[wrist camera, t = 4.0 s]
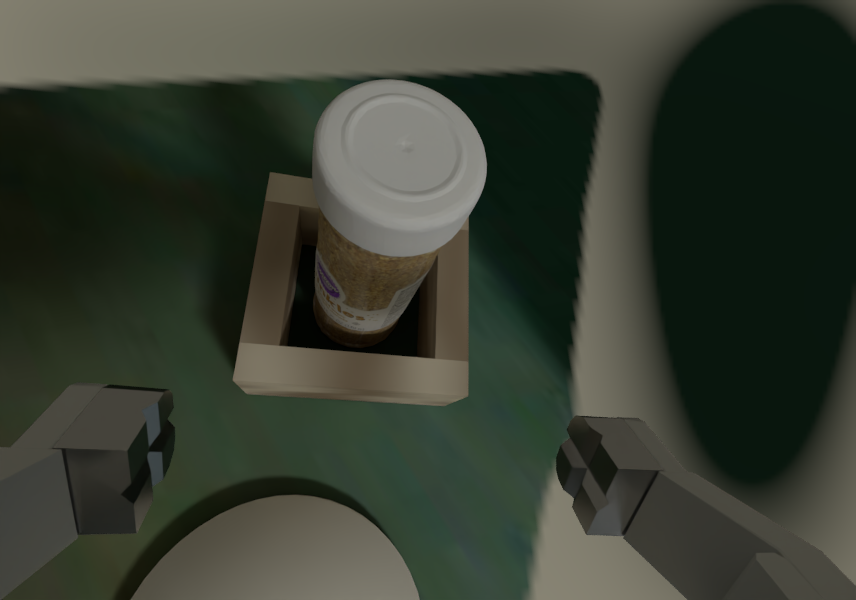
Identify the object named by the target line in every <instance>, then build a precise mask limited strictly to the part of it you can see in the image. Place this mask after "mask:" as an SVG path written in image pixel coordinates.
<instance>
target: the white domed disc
mask: <svg viewBox="0 0 856 600" xmlns="http://www.w3.org/2000/svg"><path fill="white" fill-rule="evenodd" d="M131 600H420V599H419V595H418V592H417V589H416V586H415V584H414V581H413V579H412V576H411V573H410V571H409V570H408V568H407V566H406V564H405V562H404V560H403V558H402V557H401V555H400V554H399V552H398V551H397V550H396V548H395V547H394V545H393V544H392V543H391V541H390V540H389V539H388V538H387V537H386V536H385V535H384V534H383V533H382V532H381V531H380V530H379V529H378V527H377V526H376V525H374V524H373V523H372V522H371V521H369V520H368V519H367V518H366V517H364V516H363V515H362V514H360V513H358V512H356V511H355V510H353V509H351V508H349V507H348V506H346V505H343V504H341V503H338V502H335V501H333V500H330V499H326V498H321V497H317V496H311V495H300V494H289V495H275V496H270V497H265V498H259V499H256V500H253V501H250V502H247V503H243V504H240V505H238V506H236V507H234V508H231V509H229V510H227V511H225V512H223V513H221V514H219V515H217V516H216V517H214V518H212V519H211V520H209V521H207V522H206V523H204V524H202V525H201V526H199V527H198V528H196V529H195V530H194V531H192V532H191V533H190V534H189V535H187V536H186V537H185V538H183V539H182V540H181V541H179V542H178V543H177V544H176V545H175V546H174V547H173V548H172V549H171V550H170V551H169V552H168V553H167V554H166V555H165V556H164V557H163V558H162V559H161V560H160V561H159V562H158V563H157V565H156V566H155V567H154V568H153V569H152V571H151V572H150V573H149V574H148V575H147V576H146V578H145V579H144V580H143V582H142V583H141V585H140V586H139V588H138V589H137V591H136V592H135V594H134V595H133V597H132V598H131Z"/></svg>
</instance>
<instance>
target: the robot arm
mask: <svg viewBox="0 0 856 600" xmlns="http://www.w3.org/2000/svg"><path fill="white" fill-rule="evenodd" d="M173 408H174V405H173V394H172V392H171V391H170V390H169V389H158V388H146V387H134V386H122V385H106V384H93V383H80V382H78V383H75V384H72V385H70V386H68V387H67V388H66V389H65V390H64V391H63V393H62V394H61V395H60V396H59V397H58V398H57V399H56V400H55V401H54V402H53V403H52V404H51V405H50V406H49V407H48V408H47V409H46V410H45V411H44V412H43V413H42V414H41V416H40V417H39V418H38V419H37V420H36V421H35V422H34V423H33V424H32V425H31V426H30V427H29V428H28V429H27V430H26V431H25V432H24V433H23V434H22V435H21V436H20V438H19V439H18V440H17V441H16V442H15V443H14V444H13V445H12V446H11V447H10V448H8V447H0V600H1V599H2V598H3V597H5V596H6V595H7V594H8V593H10V592H11V591H12V590H13V589H15V588H16V587H17V586H18V585H20V584H21V583H22V582H23V581H25V580H26V579H27V578H28V577H30V576H31V575H32V574H33V573H35V572H36V571H37V570H38V569H40V568H41V567H42V566H43V565H45V564H46V563H47V562H48V561H50V560H51V559H52V558H53V557H55V556H56V555H57V554H58V553H60V552H61V551H62V550H63V549H65V548H66V547H67V546H68V545H70V544H71V543H72V542H73V541H75V540H76V539H77V538H78V535H90V534H133V533H137V532H138V530H139V528H140V526H141V524H142V522H143V520H144V517H145V515H146V513H147V511H148V509H149V507H150V505H151V503H152V501H153V490H152V487H153V486H154V485H155V484H157V483H158V482H160V481H161V480H163V479H164V477H165V474H166V472H167V470H168V468H169V466H170V462H171V459H172V455H173V451H174V444H175V427H174V426H173V424H172V423H171V422H170V421H169V420H168V417H169V416H170V414H171V412H172V410H173ZM567 431H568V434H569V436H570V438H569V439H568V440H567V441H565V442H564V443H563V444H562V445H561V446H560V448H559V451H558V454H557V457H556V471H557V475H558V479H559V481H560V484H561V486H562V488H563V490H565V491H566V492H567V493H569V494H570V495H571V496H572V497H573V498H574V502H573V506H572V507H573V510H574V512H575V514H576V516H577V517H578V519H579V521H580V523H581V525H582V527H583V529H584V531H585V533H586V534H587V535H606V536H607V535H608V536H624V539H625V540H626V541H627V542H628V543H629V544H630V545H631V546H632V547H633V548H634V549H635V550H636V551H637V552H639V554H640V555H642V557H644V558H645V559H646V560H647V561H648V562H649V563H650V564H651V565H652V566H653V567H654V568H655V569H656V570H657V571H658V572H659V573H660V574H661V575H662V576H663V577H665V579H667V580H668V581H669V582H670V583H671V584H672V585H673V586H674V587H675V588H676V589H677V590H678V591H679V592H680V593H681V594H682V595H683V596H684V597H685V598H686V599H687V600H856V586H855V585H854V584H853V583H852V582H851V581H850V580H849V579H848V578H847V577H846V576H845V575H844V574H843V573H842V572H841V571H840V570H839V569H838V567H837V566H836V565H835V564H833V562H832V561H831V560H830V559H829V558H828V557H827V556H826V555H824V553H823V552H822V551H820V550H819V549H817V548H816V547H814V546H812V545H810V544H809V543H807V542H806V541H804V540H803V539H801V538H799V537H798V536H796V535H794V534H793V533H791V532H790V531H788V530H786V529H785V528H783V527H781V526H780V525H778V524H776V523H775V522H773V521H772V520H770V519H768V518H767V517H765V516H763V515H762V514H760V513H758V512H757V511H755V510H754V509H752V508H750V507H749V506H747V505H746V504H744V503H742V502H741V501H739V500H737V499H735V498H734V497H733V496H731V495H729V494H728V493H726V492H724V491H723V490H721V489H719V488H718V487H716V486H715V485H713V484H711V483H710V482H708V481H706V480H705V479H703V478H702V477H700V476H698V475H697V474H695V473H689V472H687V471H686V470H685V469H684V468H683V466H682V465H681V464H680V463H679V462H678V461H677V459H676V458H675V457H674V456H673V455H672V454H671V452H670V451H669V450H668V449H667V448H666V447H665V445H664V444H663V443H662V442H661V441H660V440H659V438H658V437H657V436H656V435H655V434H654V432H653V431H652V430H651V429H650V428H649V426H648V425H647V424H646V423H645V422H643V421H642V420H640V419H639V418H622V417H617V418H608V417H591V416H590V417H589V416H575V417H574V418H573V419H572V420H571V421H570V424H569V426H568V428H567Z"/></svg>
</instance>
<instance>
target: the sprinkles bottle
mask: <svg viewBox="0 0 856 600" xmlns="http://www.w3.org/2000/svg"><path fill="white" fill-rule="evenodd" d="M486 168H487V163H486V155H485V150H484V146H483V143H482V140H481V138H480V136H479V134H478V132H477V130H476V128H475V127H474V125H473V124H472V122H471V121H470V119H469V118H468V117H467V116H466V115H465V113H464V112H463V111H462V110H461V109H460V108H459V107H457V106H456V105H455V104H454V103H453V102H451V101H450V100H449V99H447V98H446V97H444V96H443V95H441V94H439V93H438V92H436V91H434V90H431V89H429V88H427V87H424V86H422V85H419V84H415V83H411V82H407V81H401V80H375V81H369V82H365V83H362V84H359V85H356V86H354V87H351V88H349V89H347V90H346V91H344V92H342V93H341V94H340V95H338V96H337V97H336V98H335V99H334V100H333V101H332V102H331V103H330V104H329V105H328V106H327V107H326V109H325V110H324V112H323V113H322V115H321V117H320V119H319V121H318V123H317V126H316V130H315V134H314V141H313V158H312V181H313V189H314V194H315V197H316V200H317V203H318V205H319V219H318V229H319V231H318V242H317V248H316V262H315V290H316V291H315V294H314V298H313V311H314V315H315V319H316V322H317V324H318V326H319V327H320V329H321V331H322V332H323V333H324V334H325V335H326V336H328V337H329V338H330V339H331V340H332V341H334V342H336V343H339V344H341V345H343V346H346V347H350V348H364V347H368V346H372V345H375V344H377V343H379V342H381V341H383V340H385V339H386V338H387V337H388V336H389V334H390V333H391V332H392V331H393V330H394V328H395V327H396V325H397V323H398V320H399V317H400V316H401V314H402V313H403V312H404V310H405V309H406V307H407V305H408V304H409V302H410V301H411V299H412V297H413V296H414V294H415V292H416V291H417V289H418V287H419V286H420V284H421V282H422V281H423V279H424V278H425V276H426V274H427V273H428V271H429V270H430V268H431V267H432V265H433V263H434V261H435V258H436V256H437V254H438V253H439V251H440V249H441V247H442V246H443V245H445V244H446V243H447V242H448V241H450V240H451V239H452V238H453V237H454V236H455V235H456V234H457V232H458V231H459V230H460V229H461V227H462V226H463V224H464V222H465V221H466V219H467V218H468V216H469V214H470V213H471V211H472V210H473V208H474V206H475V204H476V203H477V201H478V199H479V197H480V195H481V192H482V190H483V187H484V184H485V179H486V173H487V171H486Z"/></svg>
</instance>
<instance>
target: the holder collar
mask: <svg viewBox="0 0 856 600" xmlns="http://www.w3.org/2000/svg"><path fill="white" fill-rule="evenodd" d="M318 219H319V205H318V203H317V200H316V197H315V194H314V189H313V181H312V179H310V178H304V177H297V176H291V175H285V174H279V173H272V172H270V175H269V181H268V187H267V192H266V198H265V203H264V209H263V215H262V220H261V226H260V231H259V237H258V242H257V248H256V254H255V259H254V265H253V270H252V276H251V281H250V287H249V293H248V298H247V304H246V309H245V315H244V321H243V326H242V332H241V337H240V343H239V348H238V354H237V360H236V365H235V371H234V376H233V381H234V382H235V383H236V384H237V385H238V386H239V387H240V388H241V389H242V390H243V391H244V392H245V393H246V394H254V395H271V396H287V397H303V398H320V399H336V400H353V401H369V402H385V403H402V404H418V405H434V406H445V405H447V404H450V403H452V402H455V401H457V400H460V399H462V398H465V397H467V396H468V218H467V219H466V221H465V222H464V224H463V226H462V227H461V229H460V230H459V231H458V232H457V234H456V235H455V236H454V237H453V238H452V239H451V240H450V241H448V242H447V243H446V244H445V245H443V246H442V247H441V249H440V251H439V253H438V254H437V256H436V258H435V261H434V263H433V265H432V267H431V268H430V270H429V271H428V273H427V274H426V276H425V278H424V279H423V281H422V282H421V284H420V290H419V315H418V339H417V357H407V356H395V355H383V354H371V353H359V352H347V351H335V350H323V349H312V348H300V347H288V340H289V332H290V325H291V318H292V311H293V304H294V297H295V290H296V283H297V276H298V269H299V262H300V255H301V248H302V244H303V245H311V246H317V242H318V231H319V229H318Z"/></svg>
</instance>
